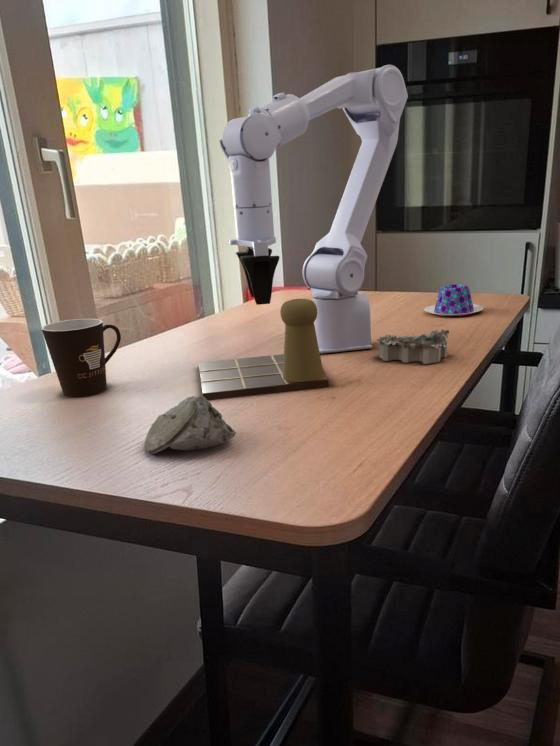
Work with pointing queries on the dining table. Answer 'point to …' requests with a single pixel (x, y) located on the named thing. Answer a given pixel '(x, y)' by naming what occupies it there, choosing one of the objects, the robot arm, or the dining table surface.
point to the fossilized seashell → (188, 427)
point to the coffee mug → (79, 355)
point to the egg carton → (414, 347)
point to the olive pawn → (300, 341)
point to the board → (249, 377)
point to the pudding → (454, 301)
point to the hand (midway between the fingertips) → (260, 300)
